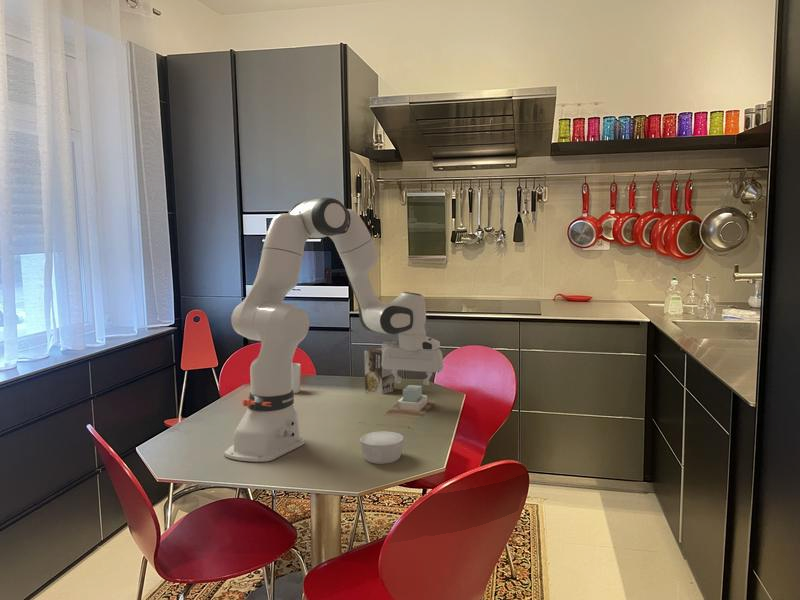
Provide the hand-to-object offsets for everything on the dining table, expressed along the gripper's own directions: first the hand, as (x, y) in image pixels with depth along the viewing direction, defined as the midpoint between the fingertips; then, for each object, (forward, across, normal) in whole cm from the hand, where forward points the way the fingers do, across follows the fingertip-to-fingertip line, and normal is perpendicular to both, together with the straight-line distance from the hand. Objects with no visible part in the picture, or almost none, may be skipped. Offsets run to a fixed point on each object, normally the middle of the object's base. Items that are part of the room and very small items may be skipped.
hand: (412, 383), depth 193 cm
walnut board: (+9, 0, -1) cm, 9 cm away
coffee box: (+9, -17, +16) cm, 25 cm away
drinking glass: (+9, -49, +10) cm, 51 cm away
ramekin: (+10, +4, -42) cm, 44 cm away
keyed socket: (+8, 0, 0) cm, 8 cm away
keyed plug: (+8, 0, 0) cm, 8 cm away
